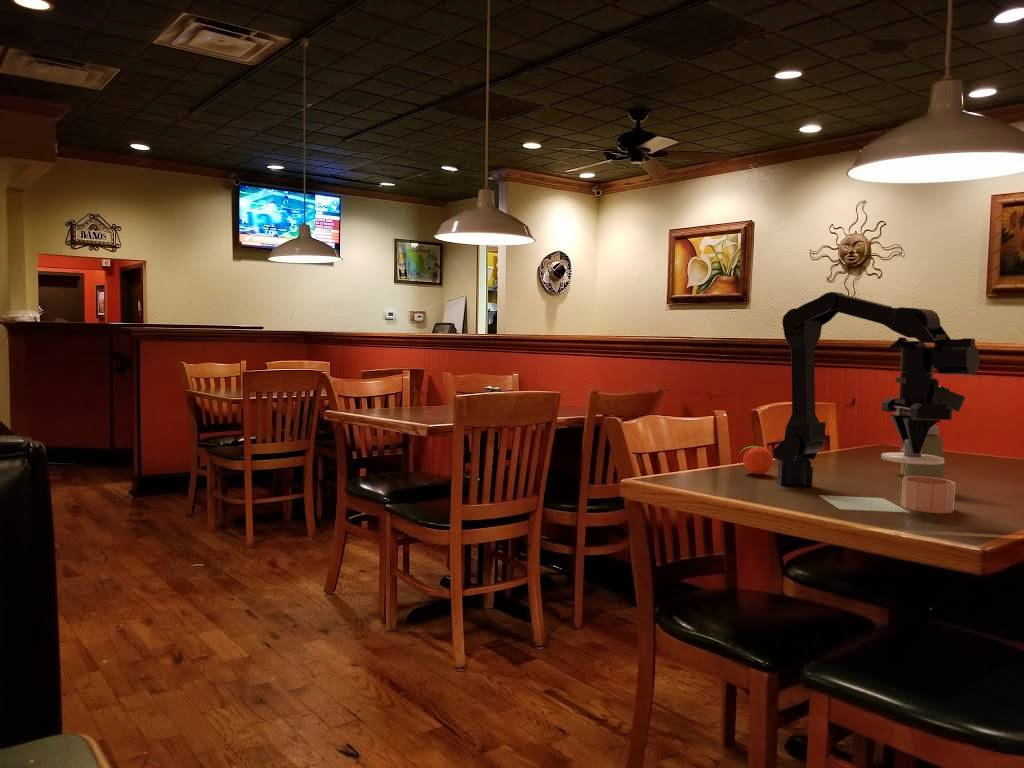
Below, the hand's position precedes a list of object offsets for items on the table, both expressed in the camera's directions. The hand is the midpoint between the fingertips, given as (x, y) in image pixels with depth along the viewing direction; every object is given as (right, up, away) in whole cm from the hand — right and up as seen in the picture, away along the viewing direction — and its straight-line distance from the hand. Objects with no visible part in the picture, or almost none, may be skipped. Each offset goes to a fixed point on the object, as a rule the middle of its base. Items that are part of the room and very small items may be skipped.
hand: (912, 452), depth 152 cm
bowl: (+3, -12, +1) cm, 12 cm away
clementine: (-20, -9, +37) cm, 42 cm away
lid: (0, -2, 0) cm, 2 cm away
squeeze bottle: (+14, -11, +24) cm, 30 cm away
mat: (-9, -11, +3) cm, 14 cm away
